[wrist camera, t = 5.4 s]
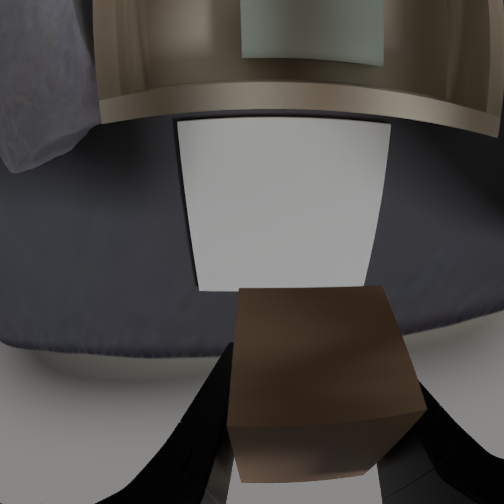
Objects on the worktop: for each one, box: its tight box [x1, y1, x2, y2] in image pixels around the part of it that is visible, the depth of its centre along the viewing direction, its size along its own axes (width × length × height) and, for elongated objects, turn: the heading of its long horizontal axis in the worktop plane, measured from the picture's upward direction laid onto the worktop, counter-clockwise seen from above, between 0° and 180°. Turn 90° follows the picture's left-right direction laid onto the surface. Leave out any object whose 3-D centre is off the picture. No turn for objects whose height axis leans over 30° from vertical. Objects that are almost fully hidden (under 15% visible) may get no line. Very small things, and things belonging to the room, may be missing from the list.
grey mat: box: [177, 117, 391, 291], centre depth 17 cm, size 11×11×1 cm
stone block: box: [0, 0, 102, 173], centre depth 11 cm, size 12×5×10 cm
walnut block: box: [227, 286, 427, 483], centre depth 8 cm, size 4×5×4 cm
